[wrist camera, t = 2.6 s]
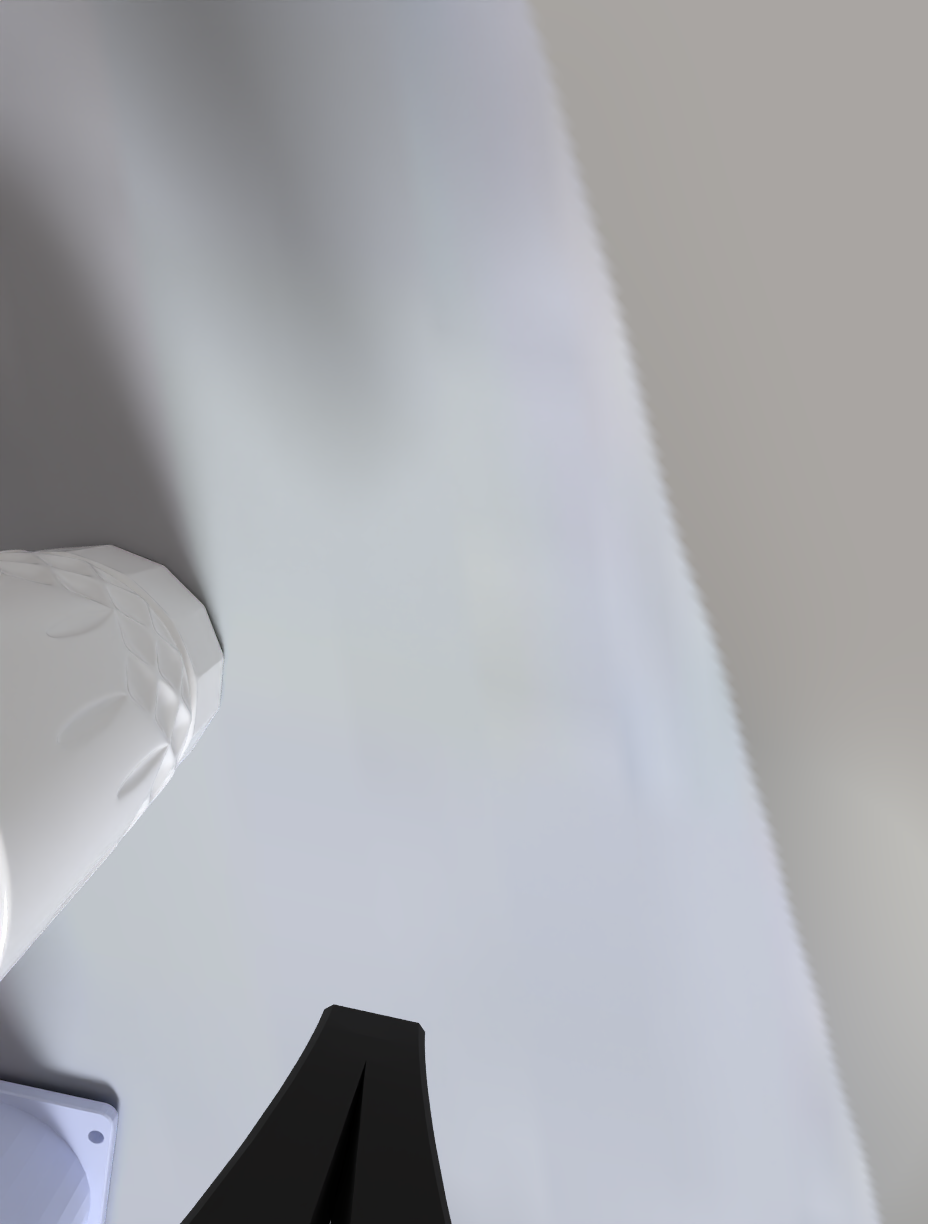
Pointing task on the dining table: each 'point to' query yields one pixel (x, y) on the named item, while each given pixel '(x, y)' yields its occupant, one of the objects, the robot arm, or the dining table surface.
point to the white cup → (89, 716)
